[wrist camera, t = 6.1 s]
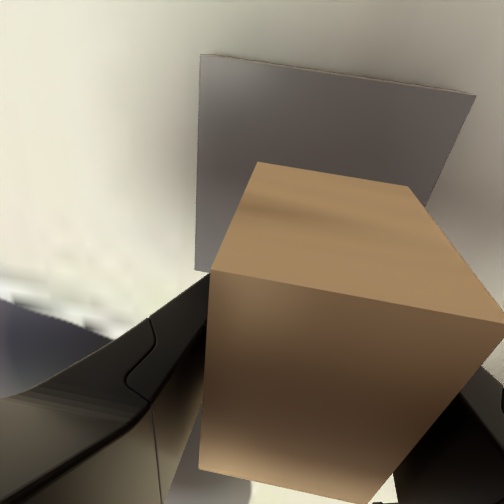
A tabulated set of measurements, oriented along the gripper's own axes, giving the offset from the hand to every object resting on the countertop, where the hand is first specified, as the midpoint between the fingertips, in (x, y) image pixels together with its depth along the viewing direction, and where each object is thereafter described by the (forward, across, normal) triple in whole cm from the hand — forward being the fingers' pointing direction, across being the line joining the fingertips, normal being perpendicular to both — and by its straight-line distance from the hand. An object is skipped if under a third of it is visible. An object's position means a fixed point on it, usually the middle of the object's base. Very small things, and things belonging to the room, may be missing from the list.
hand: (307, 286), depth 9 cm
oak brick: (+1, 0, 0) cm, 1 cm away
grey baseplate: (+8, 0, 0) cm, 8 cm away
